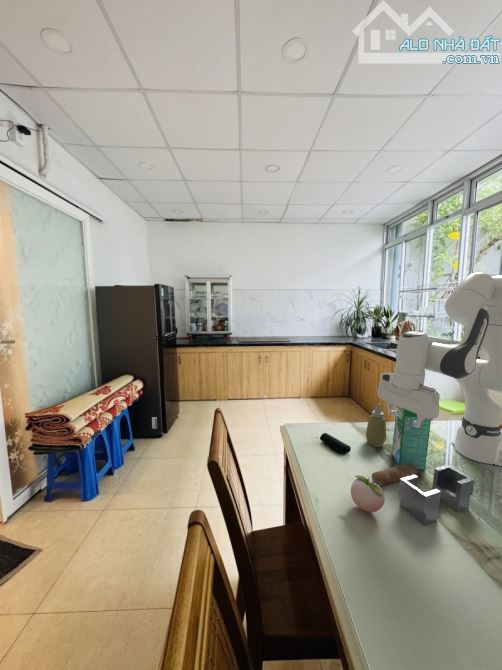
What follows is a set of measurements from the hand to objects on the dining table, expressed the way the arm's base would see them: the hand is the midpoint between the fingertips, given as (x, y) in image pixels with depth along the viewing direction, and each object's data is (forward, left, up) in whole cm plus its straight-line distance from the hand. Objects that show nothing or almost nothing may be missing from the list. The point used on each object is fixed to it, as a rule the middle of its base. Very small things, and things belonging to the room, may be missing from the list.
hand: (403, 420), depth 91 cm
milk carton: (-14, -7, -22) cm, 27 cm away
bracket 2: (-7, +13, -21) cm, 26 cm away
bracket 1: (+7, +13, -21) cm, 26 cm away
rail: (0, 0, -22) cm, 22 cm away
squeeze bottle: (-12, -21, -22) cm, 32 cm away
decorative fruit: (+21, +7, -22) cm, 31 cm away
